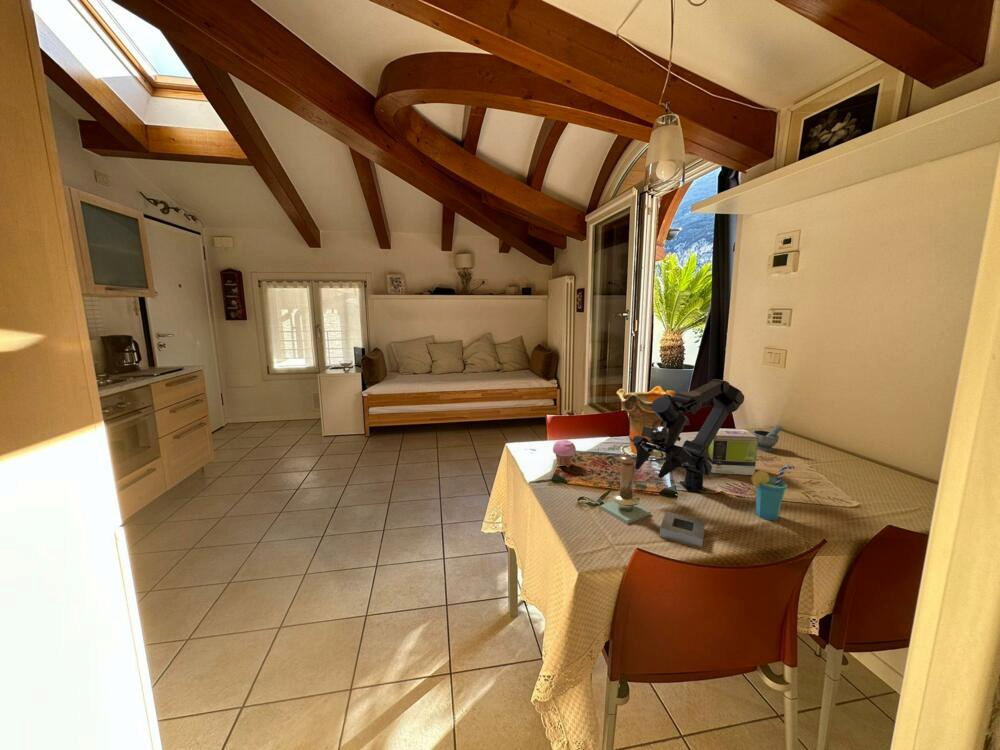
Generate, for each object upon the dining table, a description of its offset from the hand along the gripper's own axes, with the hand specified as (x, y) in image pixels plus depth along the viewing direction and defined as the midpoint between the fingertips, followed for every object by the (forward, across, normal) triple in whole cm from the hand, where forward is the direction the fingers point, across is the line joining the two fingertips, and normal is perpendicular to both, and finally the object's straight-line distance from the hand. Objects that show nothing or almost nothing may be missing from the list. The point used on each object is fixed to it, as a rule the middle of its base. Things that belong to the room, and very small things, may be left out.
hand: (647, 473), depth 121 cm
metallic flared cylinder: (+12, 0, -1) cm, 12 cm away
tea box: (-23, -10, +44) cm, 51 cm away
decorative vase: (-15, -36, +30) cm, 49 cm away
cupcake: (+8, -37, 0) cm, 38 cm away
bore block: (+11, +15, +6) cm, 19 cm away
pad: (+14, 0, 0) cm, 14 cm away
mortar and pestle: (-46, -18, +71) cm, 87 cm away
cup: (-8, +18, +31) cm, 37 cm away
